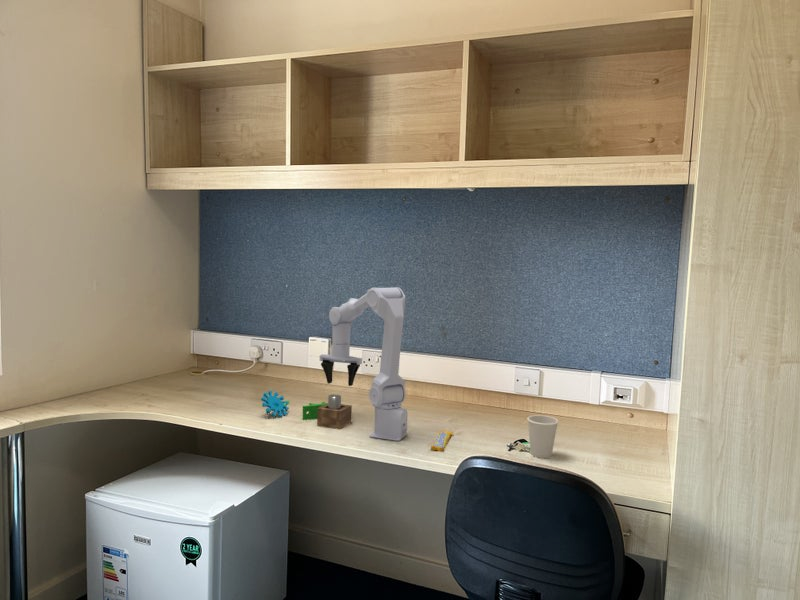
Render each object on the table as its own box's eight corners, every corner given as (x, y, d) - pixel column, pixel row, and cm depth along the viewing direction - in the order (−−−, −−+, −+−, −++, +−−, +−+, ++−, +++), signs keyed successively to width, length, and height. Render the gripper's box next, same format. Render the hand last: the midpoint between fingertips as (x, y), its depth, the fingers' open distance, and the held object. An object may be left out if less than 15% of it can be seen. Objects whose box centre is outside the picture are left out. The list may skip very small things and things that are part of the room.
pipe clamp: (332, 414, 202) (333, 401, 201) (336, 417, 198) (336, 403, 198) (300, 417, 197) (300, 403, 196) (303, 420, 193) (303, 406, 193)
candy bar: (444, 454, 166) (444, 447, 166) (429, 452, 167) (429, 446, 167) (453, 436, 182) (453, 430, 182) (439, 435, 183) (440, 429, 183)
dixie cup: (526, 458, 163) (528, 422, 162) (524, 448, 171) (526, 414, 171) (558, 461, 162) (560, 424, 161) (555, 451, 170) (556, 416, 169)
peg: (342, 420, 191) (342, 395, 190) (337, 423, 187) (338, 398, 186) (330, 418, 192) (331, 394, 191) (325, 422, 188) (326, 396, 187)
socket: (351, 422, 192) (351, 405, 192) (340, 429, 185) (340, 411, 184) (328, 419, 195) (328, 402, 194) (317, 425, 187) (317, 408, 187)
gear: (269, 415, 191) (258, 389, 196) (260, 426, 194) (249, 400, 198) (296, 414, 199) (285, 389, 204) (287, 424, 202) (276, 399, 207)
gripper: (366, 343, 200) (365, 383, 201) (326, 340, 204) (325, 379, 205) (357, 346, 193) (356, 388, 194) (316, 342, 198) (316, 383, 199)
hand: (340, 384), depth 199 cm, fingers open, 7 cm apart
